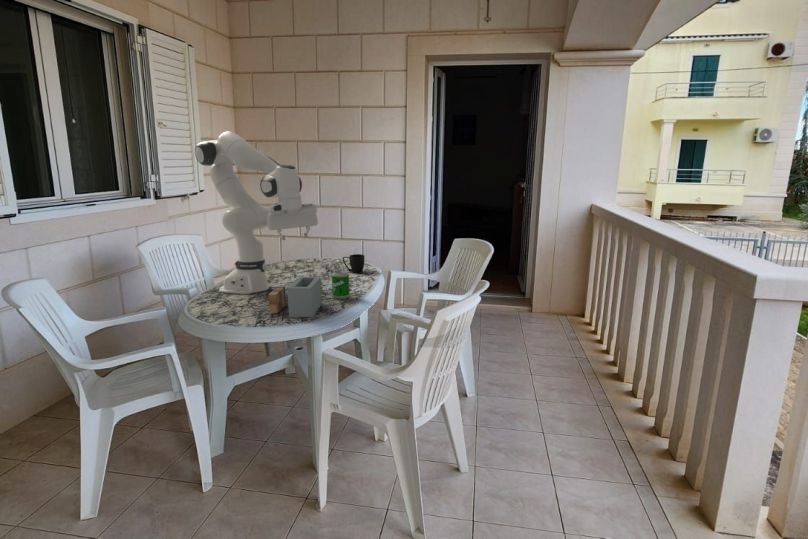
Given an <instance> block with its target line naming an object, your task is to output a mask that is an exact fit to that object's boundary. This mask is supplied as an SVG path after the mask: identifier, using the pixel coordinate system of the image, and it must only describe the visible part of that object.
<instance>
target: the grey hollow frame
mask: <svg viewBox="0 0 808 539" xmlns="http://www.w3.org/2000/svg"><path fill="white" fill-rule="evenodd" d="M322 300H323V298H322V277H321V276H298V278H297V279H295V280H294V281H293V282H292V283H291V284H289V285H288V287H287V301H288V302H287V304H288V318H289V317H312V318H313V317H314V316H315V314H316V313H317V312H318V310H319V309H320V307H321V306H322V303H323V302H322ZM320 305H321V306H320ZM318 308H319V309H318ZM316 311H317V312H316ZM313 315H314V316H313Z"/></svg>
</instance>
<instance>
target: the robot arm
mask: <svg viewBox="0 0 808 539" xmlns="http://www.w3.org/2000/svg"><path fill="white" fill-rule="evenodd" d="M194 155H195V159H196V160H197V162H198V163H199V164H200V165H201V166H206V167H210V168H209V175H210V178H211V181H212V184H213V185H214V188H216V190H217V192H218V194H219V195H220V198H221V199H222V201H223V202H224V204H225V205H227V206H228V207H231V208H232V209H230V210H226V211H225V212H224V213H223V215H222V220H221V221H222V222H221V223H222V225H223V227H224V229H225V230H226V231H227V232H229V233H230V234H231V235H232V236H233V238H234V240H235V242H236V245H237V253H238V260H236V262H235V263H234V266H235V268H234V269H233V270H232V271H230V272H229V274H227V275H226V276H225V278H224V280H223V285H222V286H220V287H219V289H218V291H219V293H227V294H240V295H249V294H253V293H260V292H264V291H266V290H268V289H270V286H269V282H268V279H267V278H268V277H267V275H266V266H267V264H266V261H265V260H266V259H265V256H264V244H263V242H262V241H261V240H259V238H257V237H256V236H255V233H254V231H256V230H262V229H265V228H267V229H268V230H270V231H277V233H278V235H279V236H280V240H281V241H285V240H286V236H285V235H283V234H282V230H285V229H286V230H287V229H295V228H305V229H306V231H305V232H304V233H303V238H305V239H306V238H309V232H310V230H311V227H313V226H314V227H315V226H318V223H319V220H318V216H317V213H318V212H317V211H318V208H317V205H315V204H313V203H303V202H302V194H301V191H302V188H303V182H302V179H301V177H300V176H299V173H298V170H297V167H296V166H294V165H290V164H280V163H278V162H277V161H275V159H273V158H272V157H270V156H268V155H267V154H265V153H263V152H262V151H260V150H258V149H256V148H255V147H254V146H253V145H251V144H250V143H249V142H248V141H247V140H246V139H245V138H243V137H242V136H240V135H239V134H237V133H236V132H233V131H230V130H229V131H227V130H226V131H224V132H222V133H221V134H220V135H219V136H218V138H216V139H213V140H211V139H210V140H205V141H201V142H199V143H196V145H195V148H194ZM234 166H236V167H237V168H239V169H241V170H249V171H258V172H264V173H266V174H265V175H263V176H262V177H261V179H260V181H259V182H260V183H259V187H260V191H261V193H262V194H263V195H264V196H265V197H266V198H271V199H274V198H278V201H277V202H275V203H273V204H271V205H269V206H268V207H267V206H264V205H263V204H262V203H260V202H258V201H257V200H256V199H255V198H253V197H252V195H251V194H249V192H248V191H247V189H246V188H245V187H244V185H243V183H242V182H241V180H240V179H239V177H238V175H237V174H236V172H235V170H234Z"/></svg>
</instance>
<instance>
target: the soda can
mask: <svg viewBox="0 0 808 539" xmlns="http://www.w3.org/2000/svg"><path fill="white" fill-rule="evenodd" d="M349 276H350V275H349V272H348V271H347V270H344V269H339V270H338V269H337V270H334V271H333V272H332V273H331V294H332V295H331V296H332V297H333V298H334V299H335V298H336V299H335V300H345V299H348V298H349V296H350V290H349V288H350V277H349Z"/></svg>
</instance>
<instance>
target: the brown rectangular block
mask: <svg viewBox="0 0 808 539" xmlns="http://www.w3.org/2000/svg"><path fill="white" fill-rule="evenodd" d="M286 298H287V296H286V287H285V286H276V288H274V289H273V290H272V291H271V292H270V293H269V294H268V309H269V314H270V313H278V312H279V311H280V312H281V310H283V308H285V307H286V306H287V299H286ZM280 312H279V313H280ZM279 313H278V314H279Z"/></svg>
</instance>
